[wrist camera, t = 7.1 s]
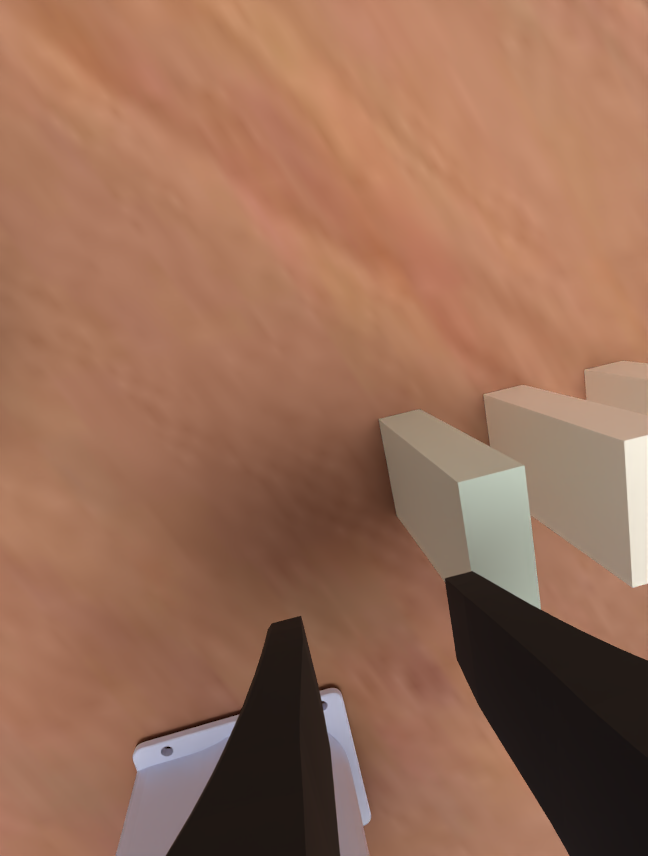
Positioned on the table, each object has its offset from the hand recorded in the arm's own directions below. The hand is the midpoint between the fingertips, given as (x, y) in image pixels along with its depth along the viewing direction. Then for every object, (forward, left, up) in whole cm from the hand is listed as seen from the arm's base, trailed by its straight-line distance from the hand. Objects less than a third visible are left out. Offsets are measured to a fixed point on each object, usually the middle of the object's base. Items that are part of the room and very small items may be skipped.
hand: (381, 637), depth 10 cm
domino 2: (+8, 0, -10) cm, 13 cm away
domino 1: (+4, 0, -10) cm, 11 cm away
